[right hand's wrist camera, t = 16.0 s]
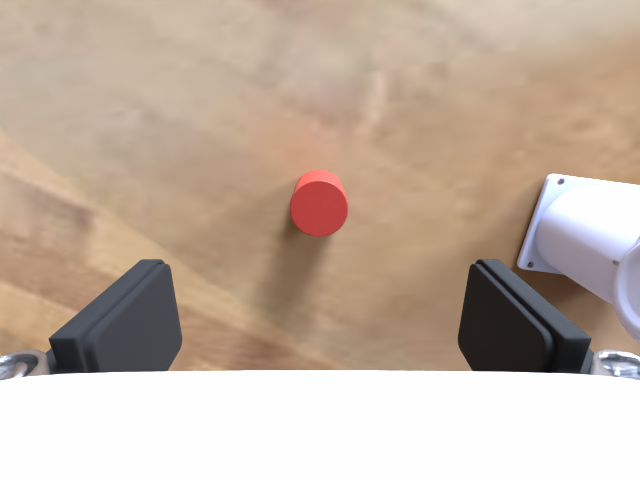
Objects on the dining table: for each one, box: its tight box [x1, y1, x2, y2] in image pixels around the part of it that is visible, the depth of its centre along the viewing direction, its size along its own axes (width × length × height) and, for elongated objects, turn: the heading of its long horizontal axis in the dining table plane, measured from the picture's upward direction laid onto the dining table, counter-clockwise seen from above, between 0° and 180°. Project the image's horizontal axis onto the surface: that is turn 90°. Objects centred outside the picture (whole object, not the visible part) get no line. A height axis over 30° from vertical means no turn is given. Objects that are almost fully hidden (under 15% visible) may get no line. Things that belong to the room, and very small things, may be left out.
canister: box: [290, 170, 348, 237], centre depth 26 cm, size 4×4×5 cm
